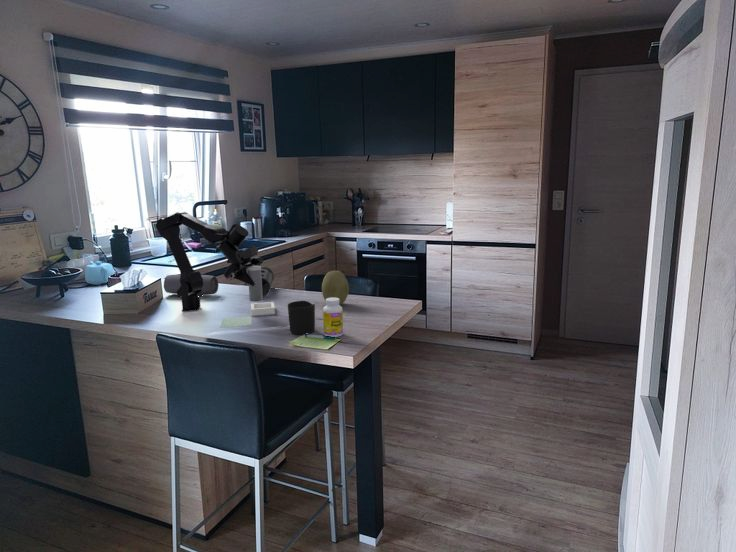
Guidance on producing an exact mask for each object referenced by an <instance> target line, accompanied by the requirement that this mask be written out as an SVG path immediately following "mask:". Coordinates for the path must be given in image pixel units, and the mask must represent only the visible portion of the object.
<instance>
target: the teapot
mask: <svg viewBox="0 0 736 552" xmlns="http://www.w3.org/2000/svg"><path fill="white" fill-rule="evenodd" d="M89 263H90V264H88V265H85V270H84V271H85V272H84V278H85V281H86V283H87V284H90V285H95V286H101V284H108V283H107V280H108V277H109V276H110V275H112V274H115V275H116V273H115V270H114V266H113V265H112V264H111V263H108V262H102V261H101V260H100V261H95V262H94V261H92V260H90V261H89Z"/></svg>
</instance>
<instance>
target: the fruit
mask: <svg viewBox="0 0 736 552" xmlns="http://www.w3.org/2000/svg"><path fill="white" fill-rule="evenodd" d="M349 285H350V284H349V281H348V279H347V277H346V276H345V274H344V273H343V272H341V271H340V270H335V269H334V270H330V271H328V272H327V273H326V274H325V276H324V277H323V280H322V283H321V293H322V297H323V299H324V301H325V302H326V299H327V298H332V297H335V298H339V301H340V302H339V305H340V306H341V305H342V304H344V302H345V301H346V300H347V298H348V295H349V291H350V287H349Z"/></svg>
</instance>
